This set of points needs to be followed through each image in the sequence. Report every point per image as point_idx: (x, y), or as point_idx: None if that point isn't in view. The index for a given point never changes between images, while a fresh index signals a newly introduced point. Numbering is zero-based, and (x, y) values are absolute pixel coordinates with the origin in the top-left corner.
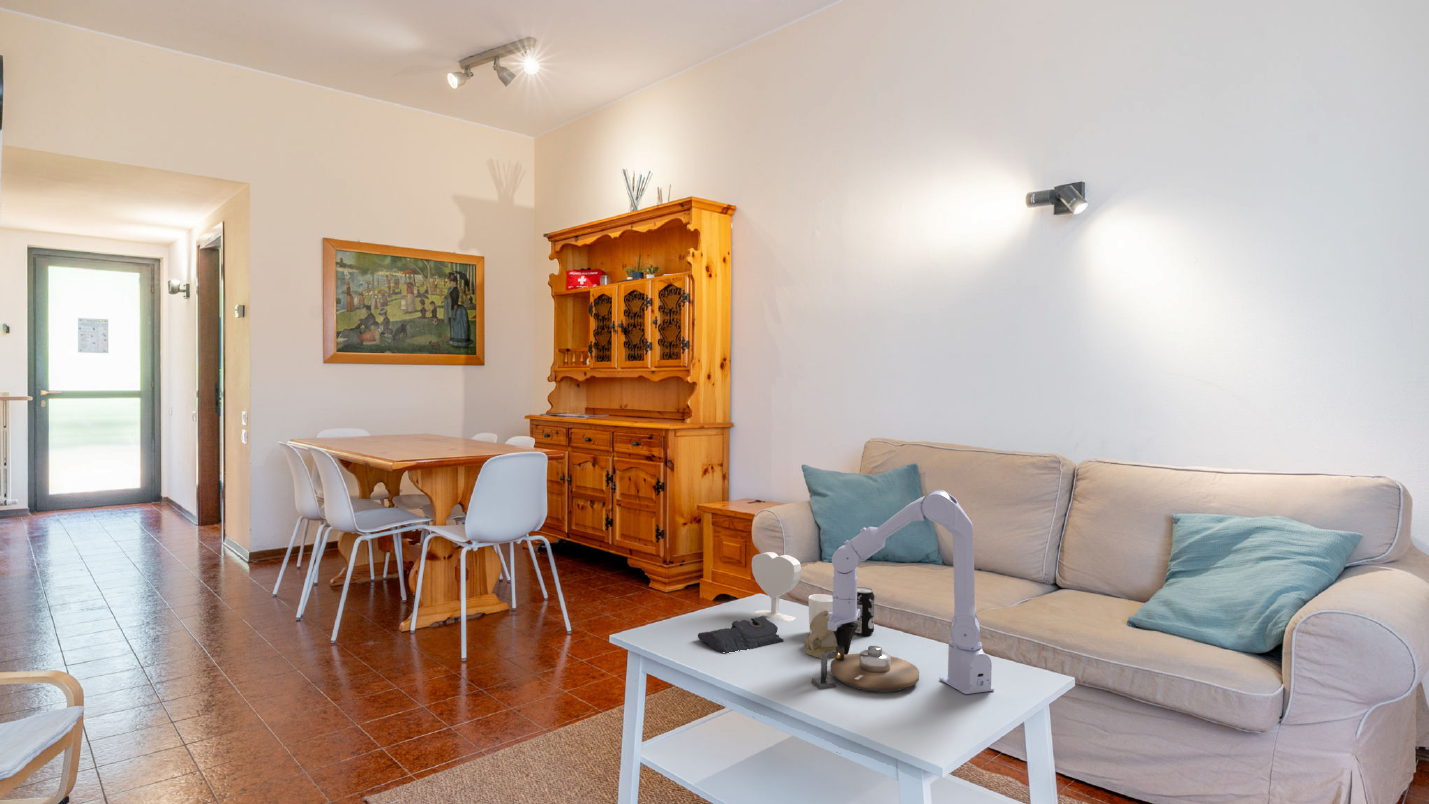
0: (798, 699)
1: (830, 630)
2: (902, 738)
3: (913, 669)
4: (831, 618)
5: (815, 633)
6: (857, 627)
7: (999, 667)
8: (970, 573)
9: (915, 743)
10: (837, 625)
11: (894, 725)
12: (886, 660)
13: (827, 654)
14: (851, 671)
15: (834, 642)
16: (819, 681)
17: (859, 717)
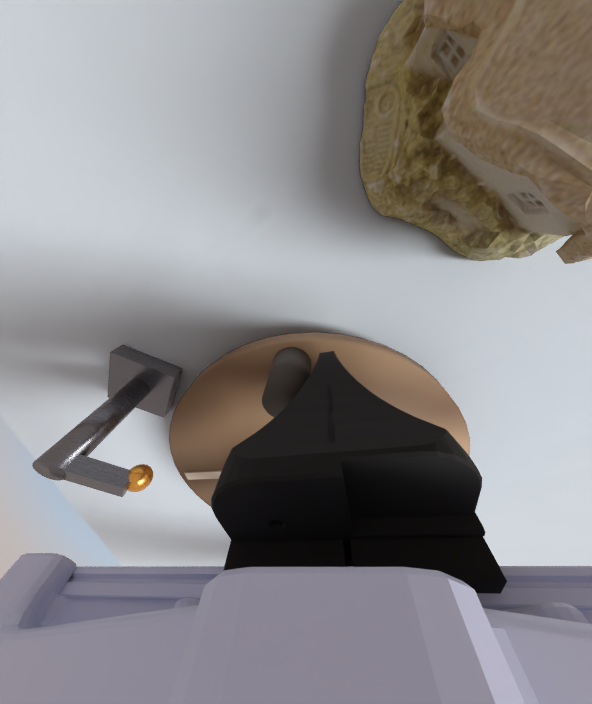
0: (20, 388)
1: (571, 166)
2: (133, 544)
3: None
4: (61, 688)
5: None
6: None
7: (586, 561)
8: None
9: (139, 554)
10: (142, 610)
11: (152, 530)
12: None
13: (64, 478)
14: (223, 445)
15: (522, 193)
16: (119, 384)
17: (114, 496)
